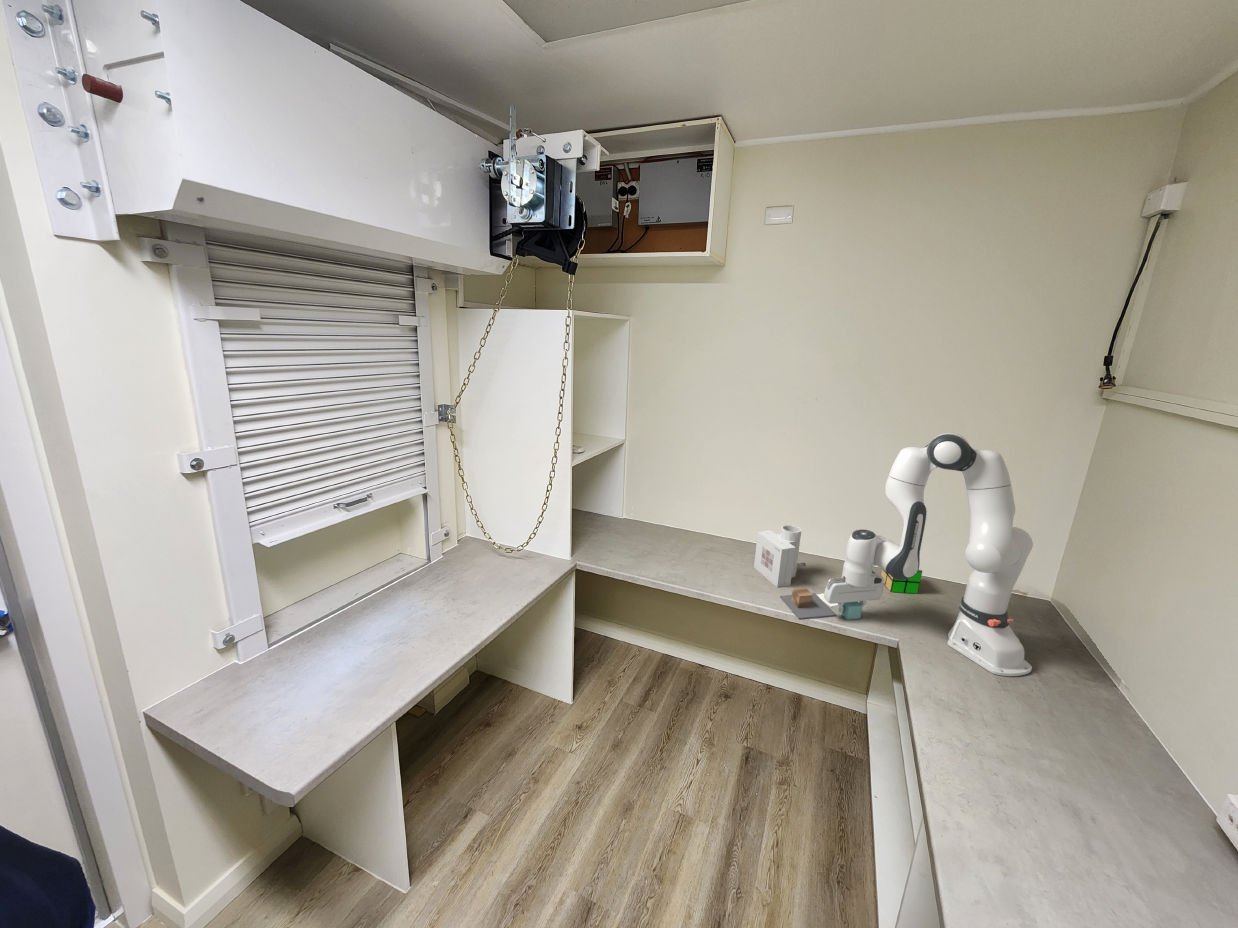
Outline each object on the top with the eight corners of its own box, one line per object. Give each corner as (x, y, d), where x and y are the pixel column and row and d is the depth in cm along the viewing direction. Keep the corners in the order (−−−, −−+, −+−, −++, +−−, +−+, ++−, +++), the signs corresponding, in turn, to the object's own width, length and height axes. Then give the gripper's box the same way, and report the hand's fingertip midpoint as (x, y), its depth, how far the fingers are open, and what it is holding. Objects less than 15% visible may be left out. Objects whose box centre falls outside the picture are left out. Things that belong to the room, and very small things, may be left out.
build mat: (836, 616, 172) (836, 614, 172) (799, 619, 170) (799, 617, 170) (814, 594, 185) (814, 592, 185) (779, 597, 183) (780, 595, 183)
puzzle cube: (905, 580, 197) (910, 558, 194) (917, 594, 187) (923, 570, 184) (879, 578, 198) (884, 556, 195) (890, 592, 188) (895, 568, 185)
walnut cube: (810, 607, 176) (812, 594, 175) (798, 608, 175) (799, 595, 174) (803, 599, 181) (805, 587, 180) (791, 600, 180) (792, 588, 179)
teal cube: (860, 618, 171) (862, 605, 170) (847, 619, 170) (849, 607, 169) (851, 610, 176) (853, 597, 174) (838, 611, 175) (840, 599, 174)
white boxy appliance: (753, 567, 205) (758, 523, 199) (791, 561, 210) (797, 518, 204) (776, 587, 190) (782, 540, 184) (816, 580, 195) (823, 534, 189)
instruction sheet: (846, 603, 180) (846, 602, 180) (830, 606, 178) (830, 605, 178) (830, 592, 187) (830, 591, 187) (815, 595, 185) (815, 594, 185)
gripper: (833, 582, 164) (827, 618, 168) (888, 578, 167) (881, 613, 171) (823, 573, 170) (817, 608, 174) (876, 569, 173) (870, 603, 177)
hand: (850, 610), depth 173 cm, fingers closed on teal cube, 5 cm apart
